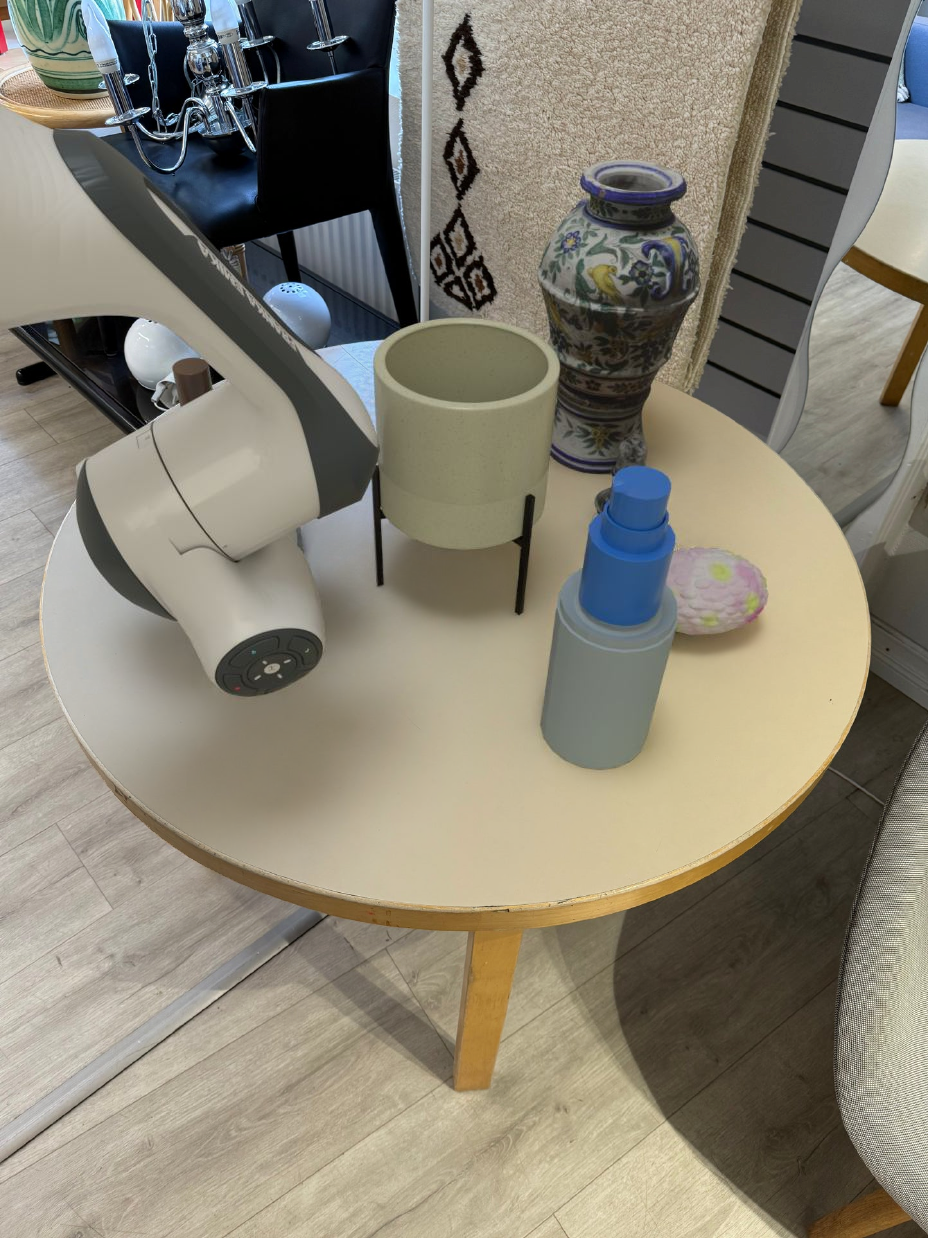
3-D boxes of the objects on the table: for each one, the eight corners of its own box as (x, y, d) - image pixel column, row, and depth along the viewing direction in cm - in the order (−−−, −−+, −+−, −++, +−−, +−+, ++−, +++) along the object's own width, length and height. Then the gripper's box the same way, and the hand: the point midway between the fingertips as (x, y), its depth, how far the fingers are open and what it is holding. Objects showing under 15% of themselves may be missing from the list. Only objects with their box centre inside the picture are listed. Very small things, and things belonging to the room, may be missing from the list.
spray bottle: (639, 688, 79) (699, 445, 62) (653, 771, 73) (724, 526, 55) (537, 685, 79) (569, 440, 62) (543, 768, 73) (579, 521, 55)
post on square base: (194, 533, 79) (160, 386, 69) (185, 500, 83) (152, 355, 73) (253, 522, 81) (228, 376, 71) (242, 489, 84) (218, 346, 74)
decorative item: (608, 561, 84) (699, 508, 78) (671, 582, 92) (758, 535, 86) (637, 650, 80) (734, 600, 74) (700, 664, 88) (792, 620, 82)
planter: (363, 536, 93) (350, 325, 77) (510, 516, 96) (528, 309, 80) (392, 638, 83) (384, 418, 67) (556, 612, 86) (586, 396, 70)
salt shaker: (650, 521, 96) (672, 423, 88) (640, 554, 92) (661, 455, 84) (596, 509, 98) (613, 411, 89) (584, 541, 94) (599, 442, 85)
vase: (576, 504, 98) (617, 221, 77) (495, 426, 109) (511, 160, 88) (695, 464, 104) (762, 192, 83) (607, 394, 115) (647, 138, 94)
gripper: (362, 460, 68) (318, 372, 77) (75, 512, 62) (65, 410, 72) (366, 527, 72) (324, 436, 81) (98, 580, 67) (85, 476, 76)
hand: (200, 424), depth 77 cm, fingers closed on post on square base, 3 cm apart
